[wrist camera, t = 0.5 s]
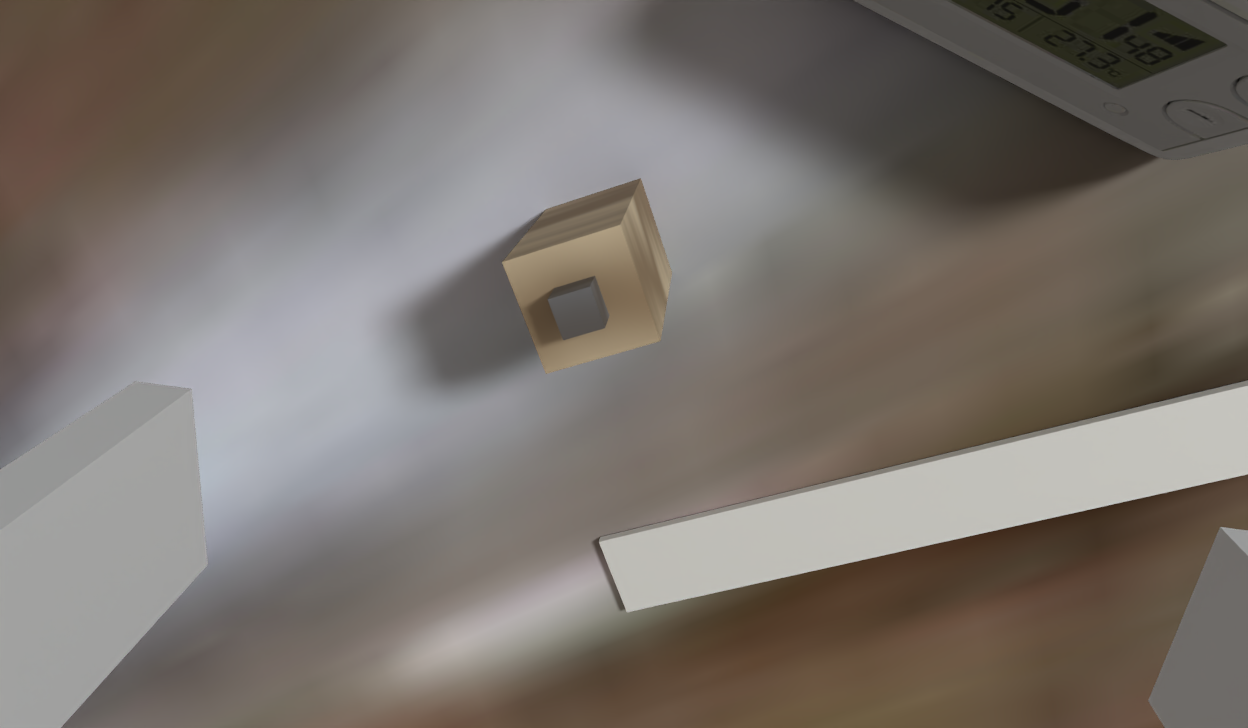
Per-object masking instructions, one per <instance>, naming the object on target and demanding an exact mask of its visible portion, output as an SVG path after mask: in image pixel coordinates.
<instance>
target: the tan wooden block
mask: <svg viewBox="0 0 1248 728" xmlns="http://www.w3.org/2000/svg"><path fill="white" fill-rule="evenodd" d="M502 264H503V266H504V269H505V271H506V274H507V276H508V279H509V281H510V284H511V286H512V289H513V291H514V294H515V296H516V299H517V302H518V304H519V307H520V309H521V312H522V314H523V317H524V319H525V322H526V324H527V327H528V329H529V332H530V334H531V337H532V340H533V342H534V345H535V347H536V350H537V352H538V355H539V357H540V360H541V362H542V365H543V367H544V370H545V372H546V374H547V373H551V372H554V371H558V370H561V369H565V368H568V367H572V366H575V365H578V364H582V363H585V362H589V361H592V360H596V359H599V358H603V357H606V356H610V355H613V354H617V353H620V352H624V351H627V350H631V349H634V348H638V347H641V346H645V345H648V344H652V343H655V342H659V341H661V335H662V329H663V323H664V317H665V311H666V305H667V299H668V293H669V287H670V281H671V275H672V271H671V268H670V265H669V262H668V259H667V256H666V253H665V250H664V247H663V244H662V241H661V238H660V235H659V232H658V229H657V226H656V223H655V220H654V217H653V214H652V211H651V208H650V205H649V202H648V199H647V196H646V193H645V190H644V187H643V184H642V181H641V178H640V179H637V180H634V181H631V182H628V183H625V184H622V185H619V186H616V187H613V188H610V189H607V190H604V191H601V192H597V193H594V194H591V195H588V196H585V197H582V198H579V199H576V200H573V201H570V202H567V203H564V204H561V205H558V206H555V207H552V208H548V209H546V210H545V211H544V212H543V214H542V215H541V216H540V217H539V218H538V220H537V221H536V222H535V223H534V224H533V226H532V227H531V228H530V229H529V230H528V232H527V233H526V234H525V235H524V236H523V238H522V239H521V240H520V241H519V242H518V244H517V245H516V246H515V247H514V248H513V250H512V251H511V252H510V253H509V254H508V256H507V257H506V258H505V259H504V260H503V262H502Z"/></svg>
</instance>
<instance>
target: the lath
mask: <svg viewBox="0 0 1248 728" xmlns="http://www.w3.org/2000/svg"><path fill="white" fill-rule="evenodd" d="M1247 474H1248V380H1247V381H1243V382H1239V383H1235V384H1231V385H1227V386H1222V387H1218V388H1214V389H1210V390H1206V391H1202V392H1198V393H1194V394H1189V395H1185V396H1181V397H1177V398H1173V399H1169V400H1165V401H1160V402H1156V403H1152V404H1148V405H1144V406H1140V407H1136V408H1132V409H1127V410H1123V411H1119V412H1115V413H1111V414H1107V415H1103V416H1099V417H1094V418H1090V419H1086V420H1082V421H1078V422H1074V423H1070V424H1065V425H1061V426H1057V427H1053V428H1049V429H1045V430H1041V431H1037V432H1032V433H1028V434H1024V435H1020V436H1016V437H1012V438H1008V439H1004V440H999V441H995V442H991V443H987V444H983V445H979V446H975V447H970V448H966V449H962V450H958V451H954V452H950V453H946V454H942V455H937V456H933V457H929V458H925V459H921V460H917V461H913V462H908V463H904V464H900V465H896V466H892V467H888V468H884V469H880V470H875V471H871V472H867V473H863V474H859V475H855V476H851V477H847V478H842V479H838V480H834V481H830V482H826V483H822V484H818V485H813V486H809V487H805V488H801V489H797V490H793V491H789V492H785V493H780V494H776V495H772V496H768V497H764V498H760V499H756V500H752V501H747V502H743V503H739V504H735V505H731V506H727V507H723V508H718V509H714V510H710V511H706V512H702V513H698V514H694V515H690V516H685V517H681V518H677V519H673V520H669V521H665V522H661V523H657V524H652V525H648V526H644V527H640V528H636V529H632V530H628V531H623V532H619V533H615V534H611V535H607V536H603V537H600V539H599V544H600V546H601V549H602V551H603V554H604V556H605V559H606V561H607V564H608V566H609V569H610V571H611V574H612V576H613V579H614V581H615V584H616V586H617V589H618V591H619V594H620V596H621V599H622V601H623V604H624V606H625V609H626V611H627V612H630V611H635V610H639V609H644V608H648V607H653V606H657V605H662V604H666V603H671V602H675V601H680V600H684V599H689V598H693V597H698V596H702V595H707V594H711V593H716V592H720V591H725V590H729V589H734V588H738V587H743V586H747V585H752V584H756V583H761V582H765V581H770V580H774V579H779V578H783V577H788V576H792V575H797V574H801V573H806V572H810V571H815V570H819V569H824V568H828V567H833V566H837V565H842V564H846V563H851V562H855V561H860V560H864V559H869V558H873V557H878V556H882V555H887V554H891V553H896V552H900V551H905V550H909V549H914V548H918V547H923V546H927V545H932V544H936V543H941V542H945V541H950V540H954V539H959V538H963V537H968V536H972V535H977V534H981V533H986V532H990V531H995V530H999V529H1004V528H1008V527H1013V526H1017V525H1022V524H1026V523H1031V522H1035V521H1040V520H1044V519H1049V518H1053V517H1058V516H1062V515H1067V514H1071V513H1076V512H1080V511H1085V510H1089V509H1094V508H1098V507H1103V506H1107V505H1112V504H1116V503H1121V502H1125V501H1130V500H1134V499H1139V498H1143V497H1148V496H1152V495H1157V494H1161V493H1166V492H1170V491H1175V490H1179V489H1184V488H1188V487H1193V486H1197V485H1202V484H1206V483H1211V482H1215V481H1220V480H1224V479H1229V478H1233V477H1238V476H1242V475H1247Z"/></svg>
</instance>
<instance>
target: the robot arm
mask: <svg viewBox="0 0 1248 728" xmlns="http://www.w3.org/2000/svg"><path fill="white" fill-rule="evenodd" d="M207 565H208V562H207V551H206V540H205V529H204V518H203V507H202V497H201V486H200V475H199V464H198V453H197V442H196V432H195V421H194V410H193V399H192V389H188V388H180V387H173V386H165V385H158V384H151V383H143V382H136V381H135V382H134V383H132V384H130V385H129V386H127V387H126V388H124V389H123V390H121V391H120V392H118V393H117V394H115V395H114V396H112V397H111V398H109V399H107V400H106V401H104V402H103V403H101V404H100V405H98V406H97V407H95V408H94V409H92V410H91V411H89V412H88V413H86V414H85V415H83V416H81V417H80V418H78V419H77V420H75V421H74V422H72V423H71V424H69V425H68V426H66V427H65V428H63V429H62V430H60V431H59V432H57V433H55V434H54V435H52V436H51V437H49V438H48V439H46V440H45V441H43V442H42V443H40V444H39V445H37V446H36V447H34V448H32V449H31V450H29V451H28V452H26V453H25V454H23V455H22V456H20V457H19V458H17V459H16V460H14V461H13V462H11V463H10V464H8V465H6V466H5V467H3V468H2V469H0V728H61V727H62V726H63V725H64V724H65V722H66V721H67V720H68V719H69V718H70V717H71V716H72V715H73V714H74V712H75V711H76V710H77V709H78V708H79V707H80V706H81V705H82V704H83V703H84V701H85V700H86V699H87V698H88V697H89V696H90V695H91V694H92V693H93V691H94V690H95V689H96V688H97V687H98V686H99V685H100V684H101V683H102V682H103V680H104V679H105V678H106V677H107V676H108V675H109V674H110V673H111V672H112V670H113V669H114V668H115V667H116V666H117V665H118V664H119V663H120V662H121V660H122V659H123V658H124V657H125V656H126V655H127V654H128V653H129V652H130V651H131V649H132V648H133V647H134V646H135V645H136V644H137V643H138V642H139V641H140V639H141V638H142V637H143V636H144V635H145V634H146V633H147V632H148V631H149V629H150V628H151V627H152V626H153V625H154V624H155V623H156V622H157V621H158V620H159V618H160V617H161V616H162V615H163V614H164V613H165V612H166V611H167V610H168V608H169V607H170V606H171V605H172V604H173V603H174V602H175V601H176V600H177V599H178V597H179V596H180V595H181V594H182V593H183V592H184V591H185V590H186V589H187V587H188V586H189V585H190V584H191V583H192V582H193V581H194V580H195V579H196V577H197V576H198V575H199V574H200V573H201V572H202V571H203V570H204V569H205V568H206V566H207ZM1148 701H1149V703H1150V704H1151V706H1152V708H1153V709H1154V711H1155V712H1156V714H1157V716H1158V717H1159V719H1160V720H1161V722H1162V724H1163V725H1164V727H1165V728H1248V531H1246V530H1239V529H1231V528H1224V527H1220V529H1219V531H1218V534H1217V536H1216V539H1215V541H1214V543H1213V546H1212V548H1211V551H1210V553H1209V555H1208V558H1207V560H1206V563H1205V565H1204V567H1203V570H1202V572H1201V575H1200V577H1199V580H1198V582H1197V584H1196V587H1195V589H1194V592H1193V594H1192V596H1191V599H1190V601H1189V604H1188V606H1187V609H1186V611H1185V613H1184V616H1183V618H1182V621H1181V623H1180V625H1179V628H1178V630H1177V633H1176V635H1175V638H1174V640H1173V642H1172V645H1171V647H1170V650H1169V652H1168V654H1167V657H1166V659H1165V662H1164V664H1163V666H1162V669H1161V671H1160V674H1159V676H1158V679H1157V681H1156V683H1155V686H1154V688H1153V691H1152V693H1151V695H1150V698H1149V700H1148Z"/></svg>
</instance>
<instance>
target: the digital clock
mask: <svg viewBox="0 0 1248 728" xmlns="http://www.w3.org/2000/svg"><path fill="white" fill-rule="evenodd" d="M854 1H856V2H857V3H859V4H861V5H863V6H865V7H867V8H869V9H871V10H873V11H874V12H876V13H878V14H880V15H882V16H884V17H886V18H888V19H890V20H892V21H894V22H896V23H897V24H899V25H901V26H903V27H905V28H907V29H909V30H911V31H913V32H915V33H917V34H919V35H921V36H922V37H924V38H926V39H928V40H930V41H932V42H934V43H936V44H938V45H940V46H942V47H944V48H946V49H947V50H949V51H951V52H953V53H955V54H957V55H959V56H961V57H963V58H965V59H967V60H969V61H970V62H972V63H974V64H976V65H978V66H980V67H982V68H984V69H986V70H988V71H990V72H992V73H994V74H995V75H997V76H999V77H1001V78H1003V79H1005V80H1007V81H1009V82H1011V83H1013V84H1015V85H1017V86H1019V87H1020V88H1022V89H1024V90H1026V91H1028V92H1030V93H1032V94H1034V95H1036V96H1038V97H1040V98H1042V99H1043V100H1045V101H1047V102H1049V103H1051V104H1053V105H1055V106H1057V107H1059V108H1061V109H1063V110H1065V111H1067V112H1068V113H1070V114H1072V115H1074V116H1076V117H1078V118H1080V119H1082V120H1084V121H1086V122H1088V123H1090V124H1092V125H1093V126H1095V127H1097V128H1099V129H1101V130H1103V131H1105V132H1107V133H1109V134H1111V135H1113V136H1115V137H1117V138H1119V139H1121V140H1123V141H1125V142H1127V143H1129V144H1131V145H1133V146H1135V147H1137V148H1139V149H1141V150H1143V151H1145V152H1147V153H1149V154H1151V155H1154V156H1156V157H1159V158H1163V159H1170V160H1179V159H1187V158H1192V157H1196V156H1200V155H1204V154H1209V153H1213V152H1217V151H1221V150H1225V149H1229V148H1233V147H1237V146H1241V145H1245V144H1248V0H854Z"/></svg>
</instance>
